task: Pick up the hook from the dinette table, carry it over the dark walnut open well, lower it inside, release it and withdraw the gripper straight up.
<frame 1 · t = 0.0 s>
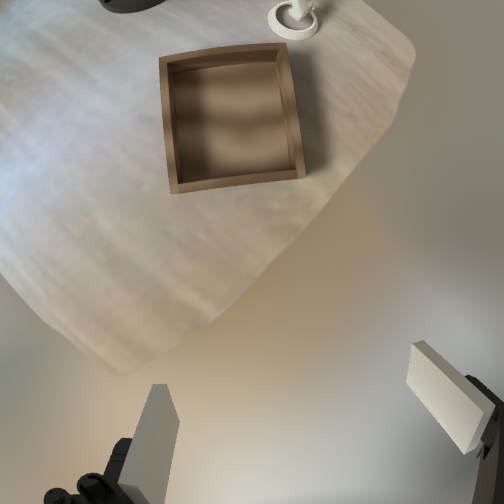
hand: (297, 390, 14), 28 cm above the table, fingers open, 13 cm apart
hook: (292, 21, 35), on the table
well: (230, 120, 37), on the table
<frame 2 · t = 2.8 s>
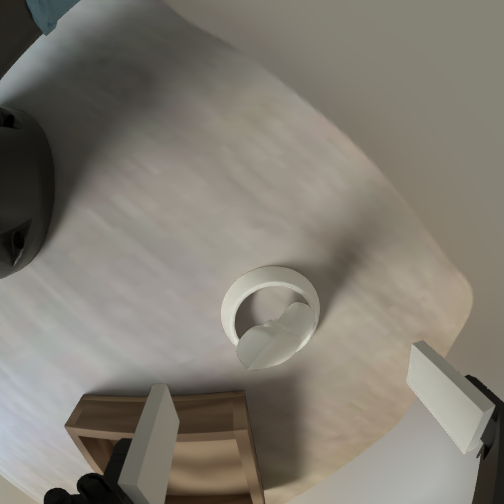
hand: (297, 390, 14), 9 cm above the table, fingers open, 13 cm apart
hook: (270, 312, 23), on the table
well: (180, 456, 26), on the table
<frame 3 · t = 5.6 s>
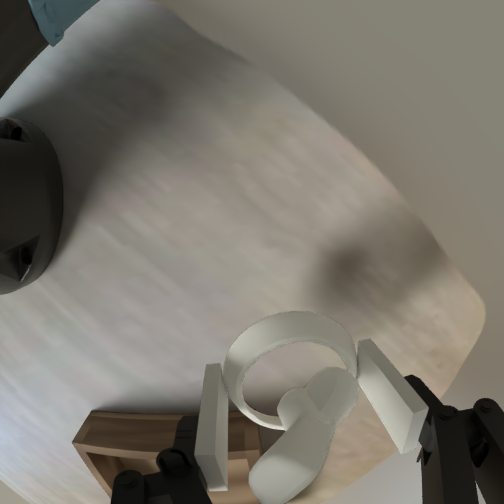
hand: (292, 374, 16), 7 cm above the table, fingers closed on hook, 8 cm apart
hook: (290, 370, 16), point 6 cm above the table, touching gripper
well: (189, 472, 25), on the table
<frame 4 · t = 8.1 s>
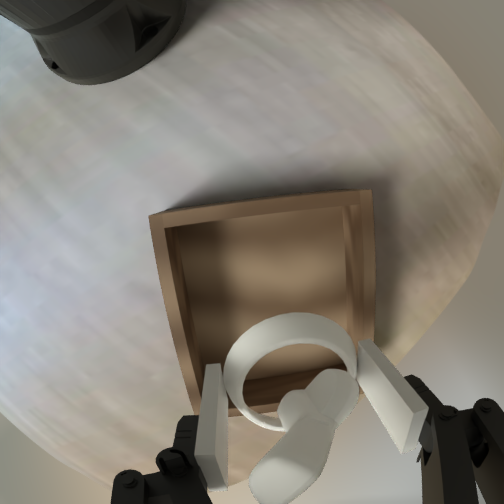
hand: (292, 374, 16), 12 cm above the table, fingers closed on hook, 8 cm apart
hook: (291, 371, 16), point 11 cm above the table, touching gripper
well: (269, 298, 27), on the table
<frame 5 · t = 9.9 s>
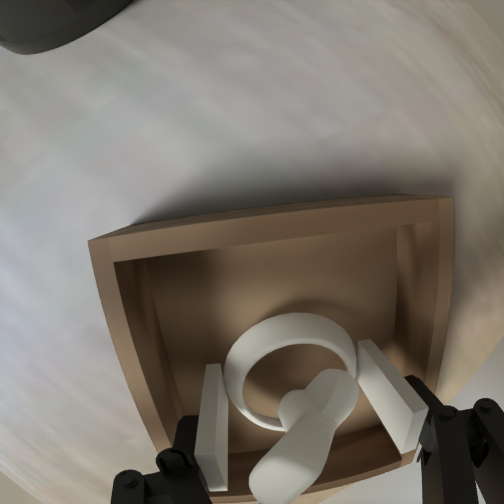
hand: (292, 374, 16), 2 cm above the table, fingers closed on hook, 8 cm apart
hook: (291, 371, 16), point 2 cm above the table, touching gripper
well: (286, 354, 18), on the table
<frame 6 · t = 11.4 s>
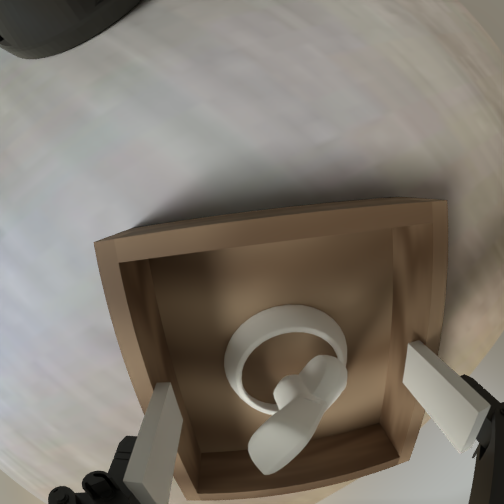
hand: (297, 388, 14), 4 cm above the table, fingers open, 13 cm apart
hook: (286, 359, 18), point 1 cm above the table, touching well
well: (285, 353, 18), on the table
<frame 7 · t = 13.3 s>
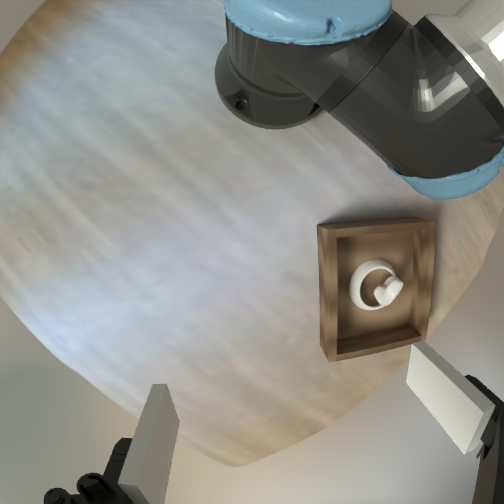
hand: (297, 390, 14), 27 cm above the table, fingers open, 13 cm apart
hook: (372, 284, 41), point 1 cm above the table, touching well
well: (371, 282, 42), on the table
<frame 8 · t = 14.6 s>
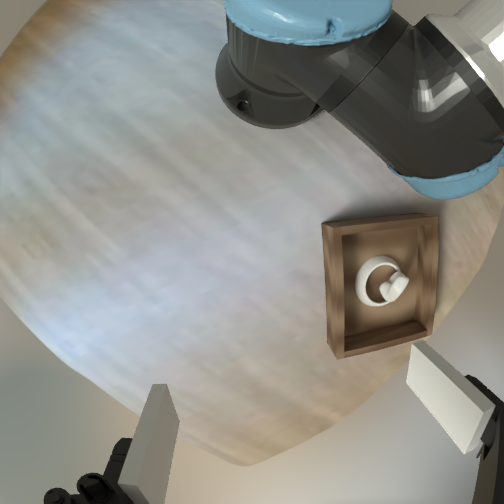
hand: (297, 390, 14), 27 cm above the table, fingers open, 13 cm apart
hook: (377, 280, 41), point 1 cm above the table, touching well
well: (376, 278, 42), on the table
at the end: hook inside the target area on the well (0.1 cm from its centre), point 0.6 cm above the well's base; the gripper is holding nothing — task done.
